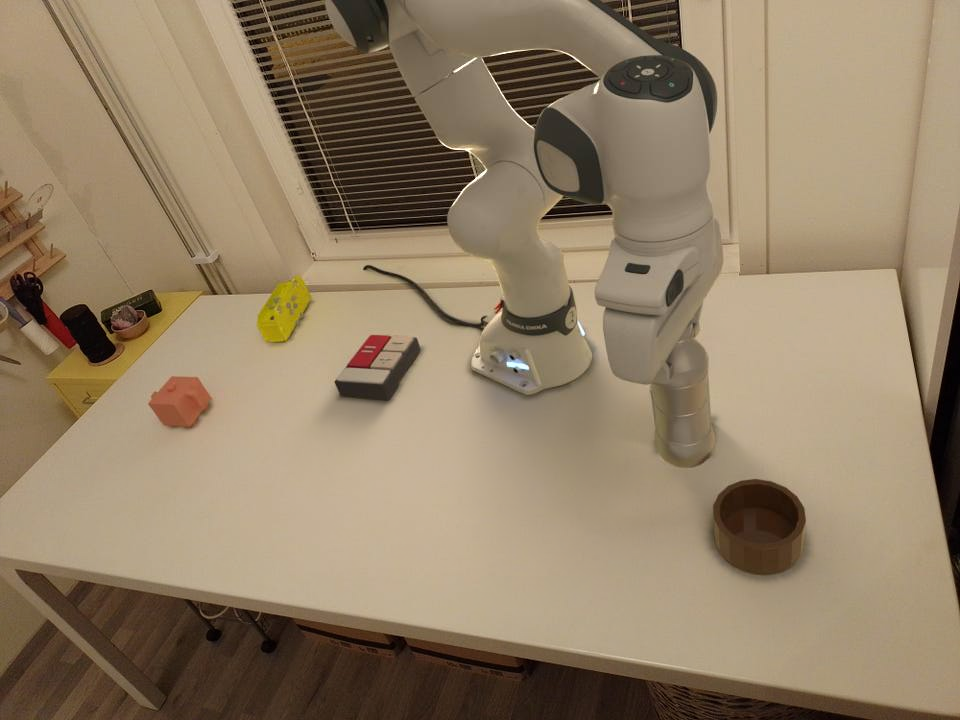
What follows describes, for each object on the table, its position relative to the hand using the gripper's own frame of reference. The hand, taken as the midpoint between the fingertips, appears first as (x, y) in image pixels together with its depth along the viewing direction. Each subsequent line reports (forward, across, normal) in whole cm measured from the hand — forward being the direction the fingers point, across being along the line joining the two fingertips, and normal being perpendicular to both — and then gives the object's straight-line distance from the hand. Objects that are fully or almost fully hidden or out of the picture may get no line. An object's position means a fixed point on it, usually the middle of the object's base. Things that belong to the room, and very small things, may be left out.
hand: (676, 357), depth 73 cm
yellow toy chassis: (+31, -19, -101) cm, 107 cm away
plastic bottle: (+15, 0, 0) cm, 15 cm away
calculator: (+31, -12, -67) cm, 75 cm away
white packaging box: (+32, -17, -8) cm, 37 cm away
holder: (+32, -3, +7) cm, 33 cm away
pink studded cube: (+31, +12, -100) cm, 105 cm away
